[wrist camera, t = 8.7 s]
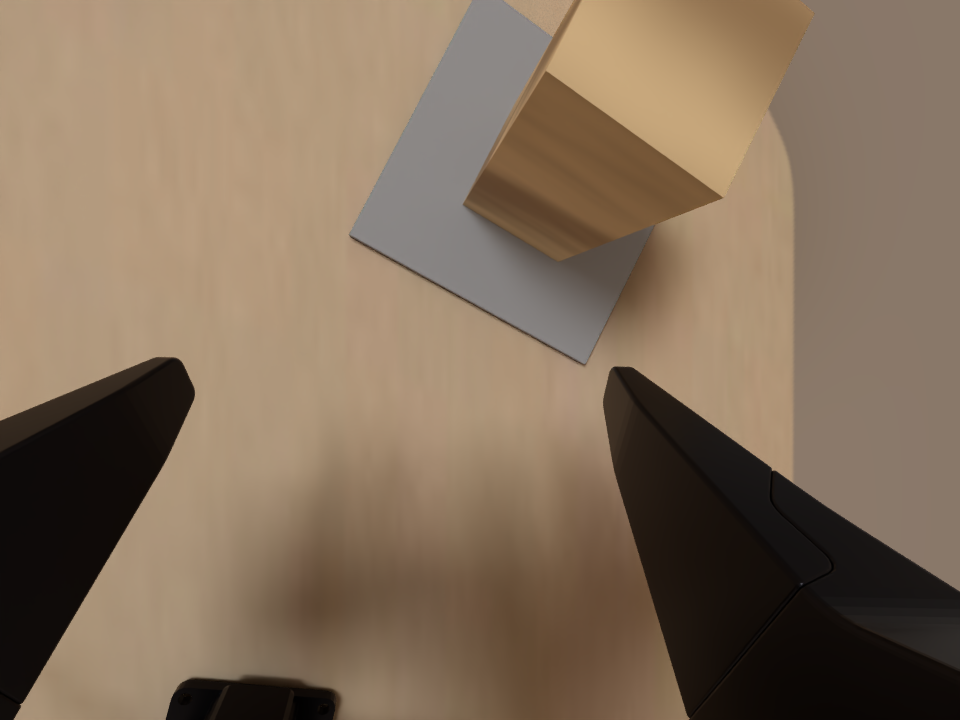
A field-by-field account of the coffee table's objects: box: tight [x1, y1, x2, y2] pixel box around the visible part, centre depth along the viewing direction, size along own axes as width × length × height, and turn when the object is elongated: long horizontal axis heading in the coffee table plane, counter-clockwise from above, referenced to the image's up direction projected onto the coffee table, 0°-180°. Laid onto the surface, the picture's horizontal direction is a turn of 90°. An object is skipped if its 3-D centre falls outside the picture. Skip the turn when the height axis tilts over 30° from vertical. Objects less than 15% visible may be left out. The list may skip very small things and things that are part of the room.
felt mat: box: [349, 0, 655, 364], centre depth 20 cm, size 12×12×1 cm
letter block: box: [463, 0, 814, 262], centre depth 15 cm, size 5×5×10 cm
